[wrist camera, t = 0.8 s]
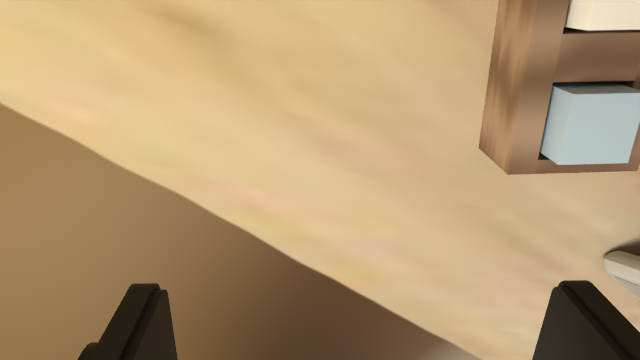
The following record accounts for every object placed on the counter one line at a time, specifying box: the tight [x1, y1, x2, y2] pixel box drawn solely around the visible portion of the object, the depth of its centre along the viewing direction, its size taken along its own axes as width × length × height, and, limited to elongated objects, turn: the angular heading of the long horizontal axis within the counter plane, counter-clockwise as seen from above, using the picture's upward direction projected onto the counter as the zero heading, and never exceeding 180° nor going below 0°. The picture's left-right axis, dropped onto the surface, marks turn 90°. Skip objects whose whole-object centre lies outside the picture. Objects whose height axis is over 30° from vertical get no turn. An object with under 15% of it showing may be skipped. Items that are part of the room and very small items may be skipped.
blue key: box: [540, 81, 640, 165], centre depth 32 cm, size 5×5×4 cm
